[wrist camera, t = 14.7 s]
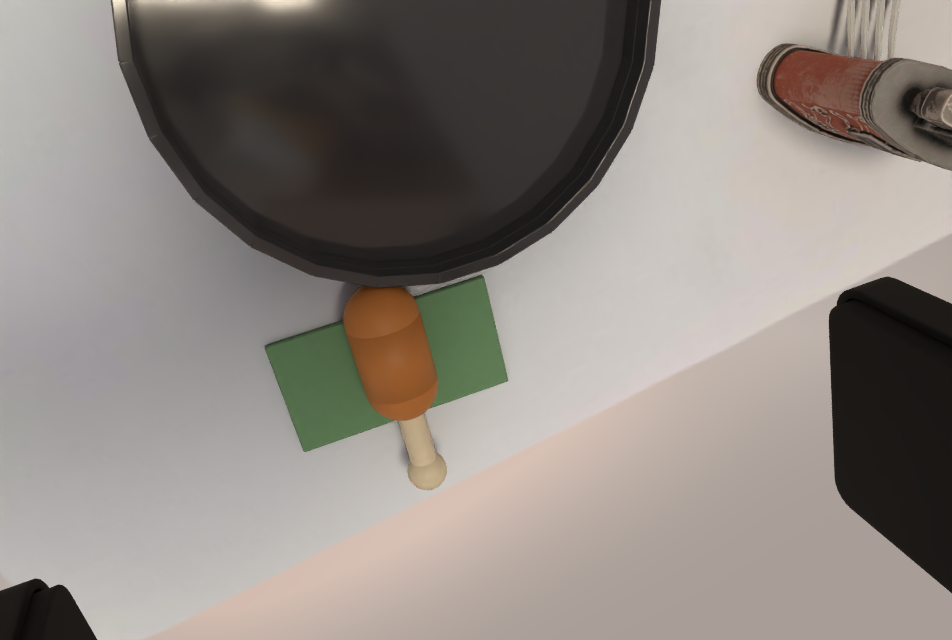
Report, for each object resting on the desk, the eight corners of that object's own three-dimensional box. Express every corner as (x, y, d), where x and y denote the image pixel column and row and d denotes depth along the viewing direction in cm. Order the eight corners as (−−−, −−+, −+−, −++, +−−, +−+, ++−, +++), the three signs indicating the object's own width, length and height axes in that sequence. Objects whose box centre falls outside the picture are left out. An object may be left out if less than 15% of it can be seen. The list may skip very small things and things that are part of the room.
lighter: (744, 100, 38) (905, 140, 29) (778, 27, 37) (955, 45, 28) (870, 157, 41) (1050, 209, 32) (904, 90, 40) (1098, 125, 32)
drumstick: (456, 456, 41) (473, 493, 38) (392, 478, 40) (405, 517, 37) (402, 261, 36) (416, 287, 33) (330, 283, 36) (338, 311, 33)
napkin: (303, 449, 38) (304, 452, 38) (264, 345, 36) (265, 348, 36) (506, 378, 40) (508, 381, 40) (482, 275, 38) (484, 277, 37)
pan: (231, 327, 35) (233, 351, 33) (16, -221, 27) (-2, -238, 24) (658, 190, 39) (686, 204, 36) (590, -336, 30) (621, -361, 28)
